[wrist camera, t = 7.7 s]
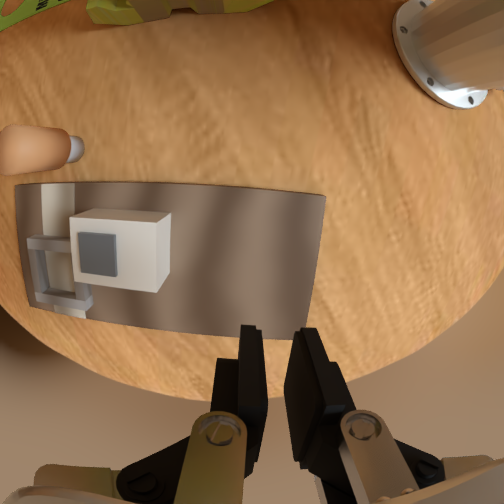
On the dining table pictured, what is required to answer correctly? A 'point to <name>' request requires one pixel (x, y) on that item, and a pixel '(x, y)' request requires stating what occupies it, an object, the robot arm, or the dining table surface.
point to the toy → (160, 9)
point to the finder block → (121, 248)
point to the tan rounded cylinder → (36, 149)
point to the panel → (182, 256)
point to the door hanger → (26, 11)
